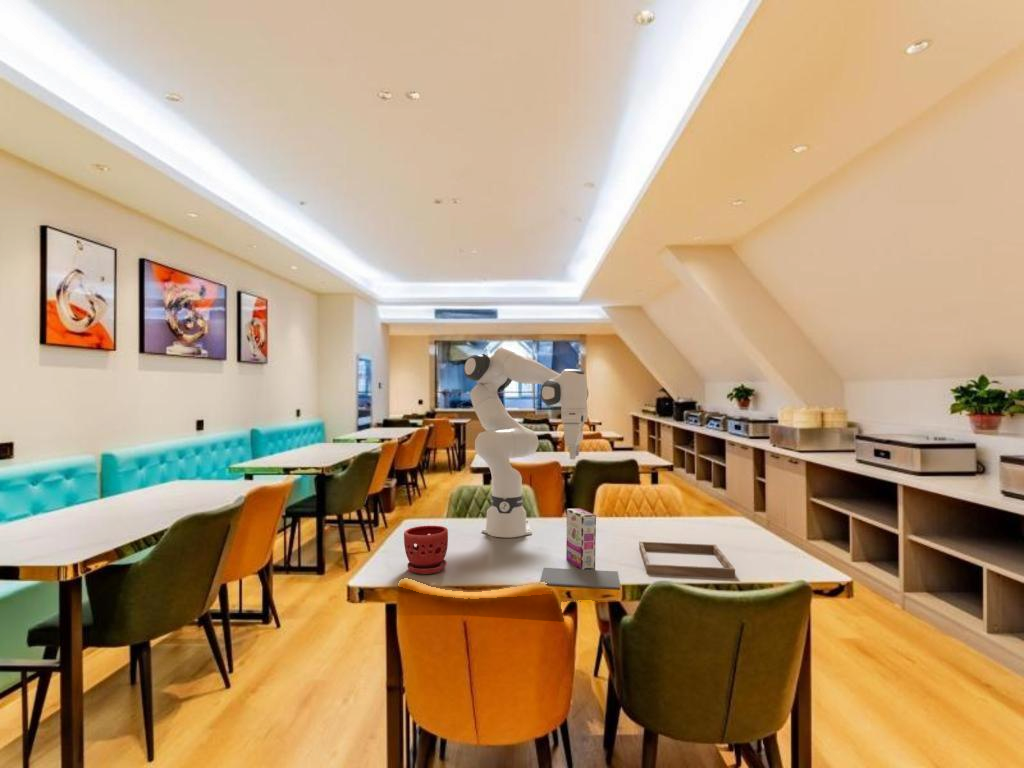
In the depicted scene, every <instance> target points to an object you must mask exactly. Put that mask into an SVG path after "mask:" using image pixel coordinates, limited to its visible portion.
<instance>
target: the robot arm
mask: <svg viewBox="0 0 1024 768" xmlns="http://www.w3.org/2000/svg"><path fill="white" fill-rule="evenodd" d="M463 374H464V376H465V377H466V378H467V379H469V380H471V381H472V382H475V383H477V384H476V385H474V387H472V389H471V391H470V395H469V396H470V400H471V405H472V407H473V409H474V410H473V411H474V412H475V414H476V416H477V418H478V420H479V422H480V424H481V427H482V428H483V429H484V430H485V431H482V432H479V433H478V435H477V436H476V438H475V440H474V449H475V451H476V453H477V455H478V457H480V458H481V459H482V460H483V461H484V462H485V463H486V465H487V466H488V468H489V471H490V474H491V491H492V492H491V495H490V505H491V506H490V507H489V508H488V509H487V511H486V520H485V521H486V525H485V527H483V528H482V529H481V532H482V533H483V534H487V535H489V536H492V537H497V538H517V537H518V538H519V537H522V536H528V535H532V534H533V533H532V528H531V525H530V523H529V521H528V519H527V511H526V510H525V508H524V507H523V506H524V498H523V497H524V496H523V494H522V493H523V492H522V490H523V489H522V487H523V485H522V484H523V482H522V479H523V477H522V474H521V473H520V471H519V470H517V469H516V468H514V467H512V465H511V462H510V461H511V460H510V459H514V458H517V459H518V458H525V457H528V456H530V455H533V454H535V453H536V451H537V450H538V447H539V438H538V435H537V434H536V432H535V431H534V430H532V429H529V428H527V427H525V426H523V424H521V423H519V421H517V420H515V419H514V417H512V416H511V415H510V414H509V412H508V411H507V409H506V407H505V405H504V404H503V403H502V402H503V401H502V400H501V399H500V397H499V395H498V393H502V392H503V391H505V389H506V388H508V387H509V385H511V382H512V381H514V382H516V383H519V384H528V385H529V384H530V385H532V384H533V385H541V388H540V398H541V400H542V403H544V404H545V406H549V407H561V408H560V409H561V411H560V415H561V417H560V419H561V420H560V421H561V423H562V424H563V425H562V427H563V438H564V439H563V440H564V444H565V447H568V451H569V452H568V453H569V459H570V460H576V458H577V457H579V455H580V447H581V443H582V442H583V441H584V428H583V427H584V426H585V425H584V424H585V423H587V422H588V417H589V416H588V415H589V414H588V404H587V400H588V397H589V389H588V380H587V376H586V373H585V372H584V371H583V370H581V369H578V368H577V369H575V368H565V369H563V370H562V371H561V373H560V372H558V371H557V370H555V369H552V368H550V367H548V366H545V365H544V364H542V363H540V362H538V361H537V360H535V359H534V358H531V357H530V356H528V355H526V353H523V352H521V351H519V350H518V349H516V348H514V347H510V346H507V345H504V346H500V347H498V348H497V349H496V350H495V351H494V352H493V354H492V355H490V356H489V355H488V354H487V353H482V354H474V355H471V356H469V357H468V358H467V359H466V360H465V362H464V365H463Z"/></svg>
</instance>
